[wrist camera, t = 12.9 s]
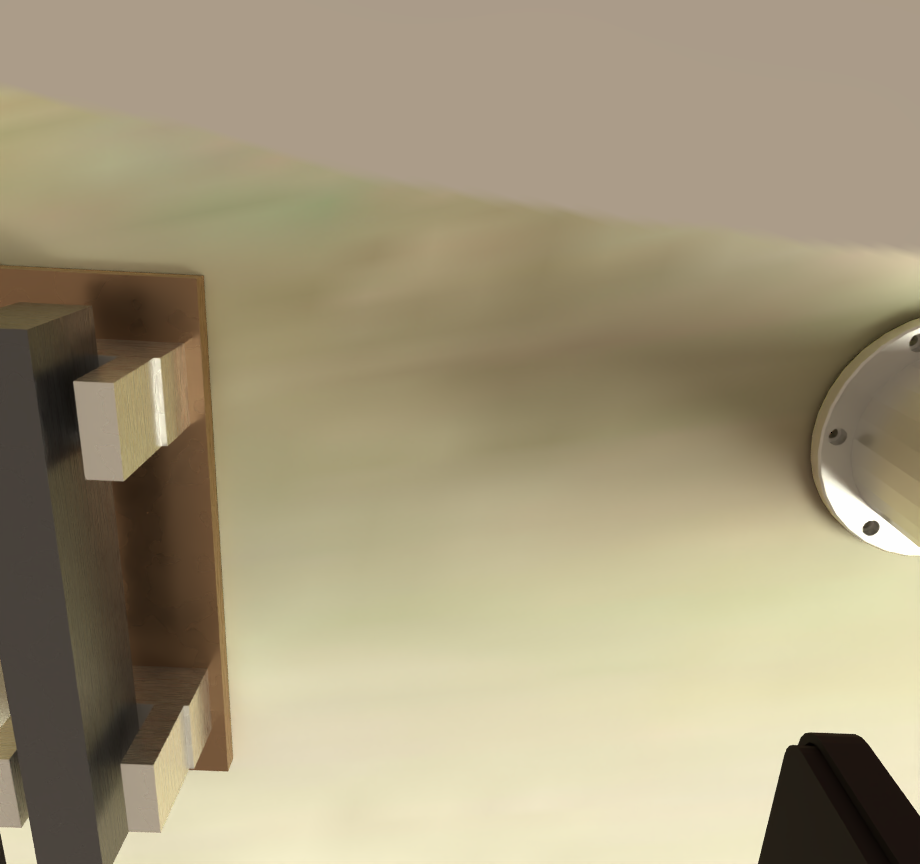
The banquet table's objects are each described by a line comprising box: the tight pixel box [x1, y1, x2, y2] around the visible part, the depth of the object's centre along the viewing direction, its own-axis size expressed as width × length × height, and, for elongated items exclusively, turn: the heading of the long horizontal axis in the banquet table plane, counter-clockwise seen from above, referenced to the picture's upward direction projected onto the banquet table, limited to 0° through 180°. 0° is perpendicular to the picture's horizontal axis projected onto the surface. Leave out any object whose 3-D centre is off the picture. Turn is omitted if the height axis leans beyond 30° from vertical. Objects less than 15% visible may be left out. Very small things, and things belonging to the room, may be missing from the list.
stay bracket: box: [0, 265, 233, 833], centre depth 35 cm, size 10×28×8 cm, turn 177°
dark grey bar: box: [0, 302, 139, 864], centre depth 33 cm, size 3×26×5 cm, turn 177°
